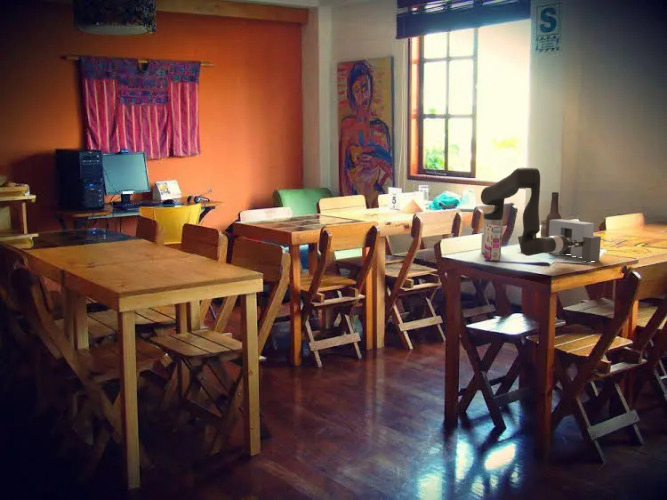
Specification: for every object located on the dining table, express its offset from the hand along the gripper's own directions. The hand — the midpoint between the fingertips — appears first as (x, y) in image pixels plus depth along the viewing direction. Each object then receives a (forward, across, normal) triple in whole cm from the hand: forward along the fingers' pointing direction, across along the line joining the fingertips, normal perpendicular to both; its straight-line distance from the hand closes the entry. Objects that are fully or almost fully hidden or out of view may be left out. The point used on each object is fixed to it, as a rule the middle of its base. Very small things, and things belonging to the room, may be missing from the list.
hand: (576, 241), depth 361 cm
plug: (+13, 0, +11) cm, 17 cm away
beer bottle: (+27, +32, +10) cm, 44 cm away
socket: (+19, +16, +10) cm, 28 cm away
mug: (+49, +46, +10) cm, 68 cm away
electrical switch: (+13, +38, +10) cm, 42 cm away
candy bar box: (-21, +32, +11) cm, 40 cm away
